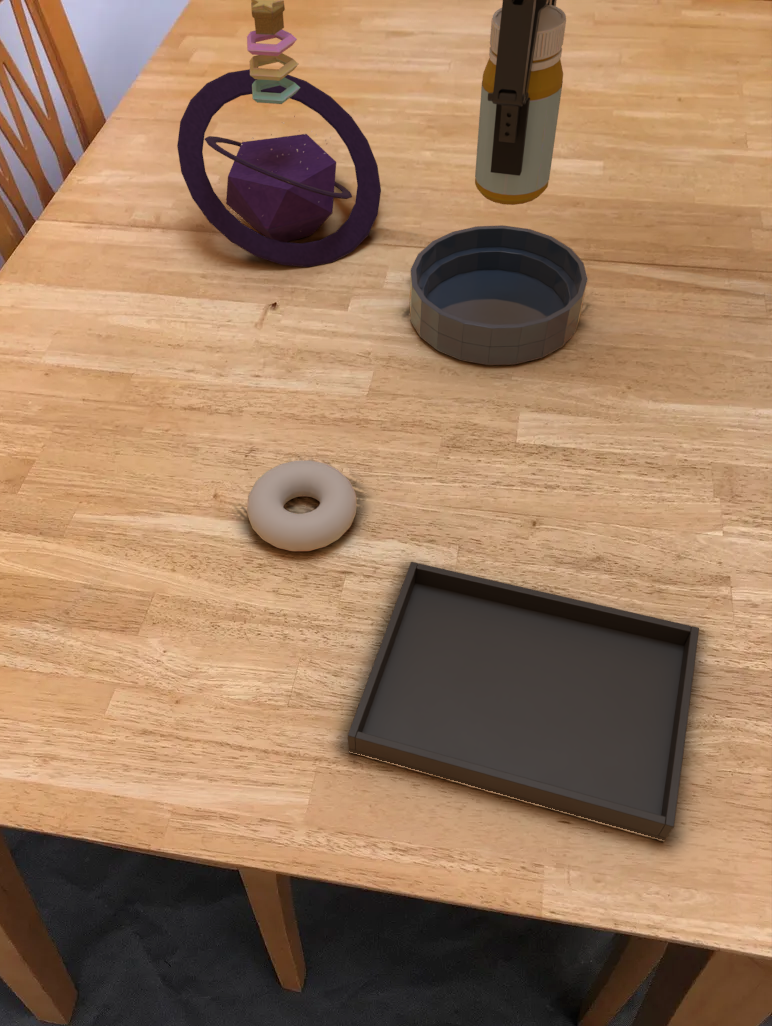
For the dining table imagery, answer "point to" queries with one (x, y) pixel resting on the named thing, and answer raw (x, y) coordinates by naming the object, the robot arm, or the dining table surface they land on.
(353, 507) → the donut
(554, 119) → the bottle
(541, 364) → the dining table surface
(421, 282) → the bowl
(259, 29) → the ringed planet model
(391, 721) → the tray
